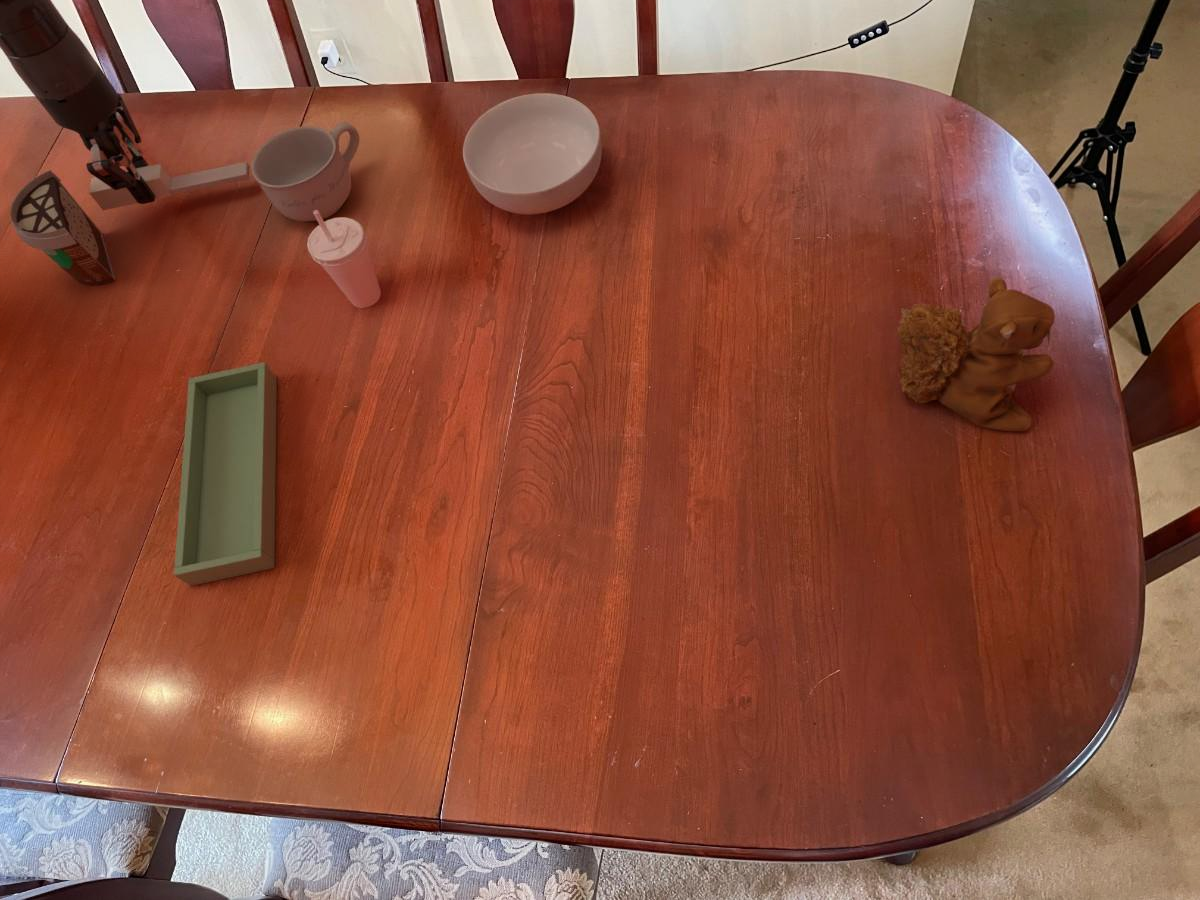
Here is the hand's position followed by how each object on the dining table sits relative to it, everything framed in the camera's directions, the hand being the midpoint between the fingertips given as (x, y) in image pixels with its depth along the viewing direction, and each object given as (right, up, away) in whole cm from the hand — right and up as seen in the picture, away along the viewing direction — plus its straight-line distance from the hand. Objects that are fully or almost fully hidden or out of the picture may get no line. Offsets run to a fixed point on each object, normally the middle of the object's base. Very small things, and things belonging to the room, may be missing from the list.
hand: (148, 191), depth 109 cm
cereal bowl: (+50, 0, -2) cm, 50 cm away
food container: (-8, -10, -1) cm, 13 cm away
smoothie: (+30, -15, -8) cm, 35 cm away
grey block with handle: (+4, +1, 0) cm, 4 cm away
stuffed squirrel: (+94, -27, -23) cm, 100 cm away
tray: (+19, -36, -19) cm, 45 cm away
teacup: (+23, -1, +1) cm, 23 cm away
